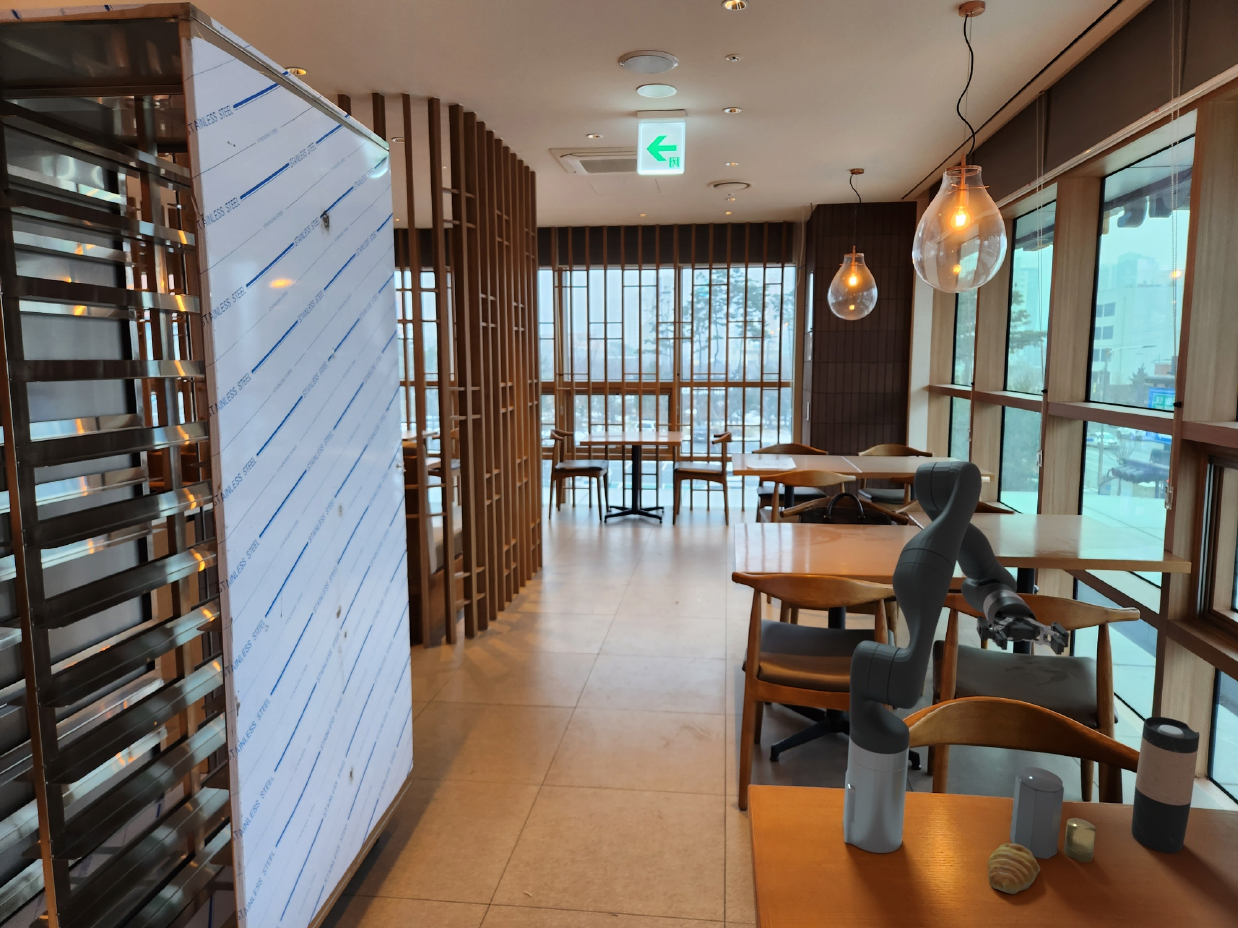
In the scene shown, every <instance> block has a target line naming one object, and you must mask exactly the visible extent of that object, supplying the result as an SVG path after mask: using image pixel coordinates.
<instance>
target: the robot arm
mask: <svg viewBox="0 0 1238 928" xmlns="http://www.w3.org/2000/svg"><path fill="white" fill-rule="evenodd" d="M913 477H914V478H913V490H914V494H915V497H916V500H917V502H918V504H919V505H920V508H921V509H922V511H923V512H924V513H925V515H926V516H927V517H928V518H929V520H930V521H931V522H930V523H929V524H928V525H927V526H925V527H924V528H922V529H921V530H920V531H918V533H916V534H915V535H913V537H912V538H910V540H909V541H908V542H907V543H905V545H904V546H903V548H902V550H901V551H900V554H899V556H898V559H897V562H896V565H895V568H894V571H893V575H892V580H891V583H892V585H891V586H892V590H893V592H894V596H895V598H896V599H895V600H896V601H897V603H898V606H899V608H900V610H901V612H902V614H903V617H904V620H905V623H906V626H907V629H908V633H909V635H908V636H909V641H908V645H907V647H905V648H904V647H899V646H894V645H891V644H887V643H883V642H882V643H880V642H877V641H873V640H863V641H860V642H859V643H858V644H857V645H856V647H855V649H854V650H853V653H852V656H851V661H850V669H849V670H850V671H849V719H848V720H849V737H848V738H849V741H848V754H847V755H848V756H847V770H846V771H845V783H844V795H843V796H844V799H843V813H842V814H843V815H842V824H843V825H842V827H843V838H844V843H846V844H850V845H854V846H855V847H858V848H860V849H861V850H864V851H867V852H870V853H876V854H877V853H878V854H886V853H892V852H895V851H897V850H898V849H899V848H900V847H901V846H902V843H903V834H904V818H905V817H904V816H905V805H906V803H905V802H906V792H907V791H906V790H907V778H908V776H907V775H908V764H909V751H910V738H911V737H910V735H911V732H910V729H909V726H908V725H907V723H906V722H905V721H904V720H903V719H901V718H900V717H899V716H897V715H896V714H894V713H893V712H892V711H890V710H889V709H887V708H886V707H885V706H884V705H887V706H891V707H895V708H898V709H903V710H910V709H913V708H914V707H915V706H916V705H917V704H918V702H919V700H920V698H921V696H922V692H923V689H924V685H925V681H926V677H927V671H928V668H929V663H930V657H931V652H932V650H933V649H932V648H933V643H934V640H935V634H936V631H937V626H938V624H939V620H940V617H941V614H942V610H943V607H944V605H945V602H946V599H947V596H948V593H949V591H950V587H951V584H952V581H953V577H954V573H955V569H956V567H957V566H956V565H957V563H958V566H959V568H960V570H961V572H962V573H963V575H964V576H965V577H966V578H965V579H964V580H963V581H962V583H961V586H960V589H961V594H962V597H963V599H964V600H965V602H966V603H967V604H968V606H970V607H971V608H972V609H974V610H976V611H978V612H979V613H982V614H984V616H982V615H978V616H977V618H976V632H977V634H978V636H979V639H980V640H982V641H986V642H987V641H988V639H989V640H991V641H992V643H994V644H995V645H996V647H998V648H1000V649H1001V650H1002V651H1007V650H1008V643H1009V642H1015V643H1016V642H1021V641H1022V642H1023V641H1024V642H1031V643H1034V644H1036V645H1039V646H1045V645H1046V646H1048V647H1050V649H1051V650H1052V651H1053V652H1054V654H1055V655H1056V656H1057V655H1058V656H1061V655H1062V653H1063V654H1064V652H1065V649H1066V648H1069V641H1070V640H1069V639H1070V632H1069V631H1067V629H1066V628H1064V627H1063V626H1062V625H1061V624H1060V623H1059V622H1058V621H1057V622H1056V621H1053V622H1051V625H1045V624H1043V623H1041V622H1039V621H1038V620H1037V617H1036V615H1035V613H1034V611H1033V610H1032V609H1031V608H1030V606H1029V605H1028V604H1027V603H1026V602H1025V601H1024V599H1023V598H1022V597H1020V596H1019V594H1017V590H1018V585H1017V581H1016V579H1015V577H1014V576H1013V574H1012V573H1011V572H1010V571H1009V570H1008V568H1006V567H1004V566H1003V564H1001V563H1000V562H999V561H998V559H997V557H996V555H995V552H994V550H993V548H992V545H991V543H990V541H989V539H988V537H987V536H986V535H985V533H984V532H982V530H981V529H980V528H978V527H977V526H976V525H975V524H973V523H972V522H971V521H972V519H973V515H974V513H975V511H976V508H977V506H978V504H979V501H980V498H981V493H982V486H983V485H982V484H983V483H982V481H983V478H982V474H981V470H980V468H979V466H977V465H976V463H974V462H971V461H964V460H956V461H954V460H952V461H934V462H933V461H932V462H926V463H922V464H920V465H919V466H918V467H917V468H916V471H915V473H914V476H913ZM1048 638H1049V639H1050V640H1049V639H1048Z"/></svg>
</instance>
